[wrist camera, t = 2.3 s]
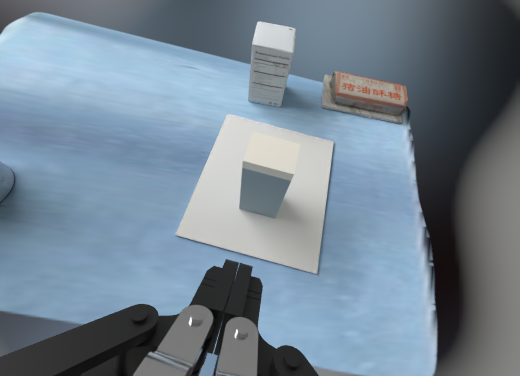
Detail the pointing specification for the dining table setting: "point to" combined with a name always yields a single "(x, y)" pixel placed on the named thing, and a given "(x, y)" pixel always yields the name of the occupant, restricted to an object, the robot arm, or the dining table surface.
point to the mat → (255, 225)
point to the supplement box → (270, 63)
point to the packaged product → (364, 97)
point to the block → (267, 173)
